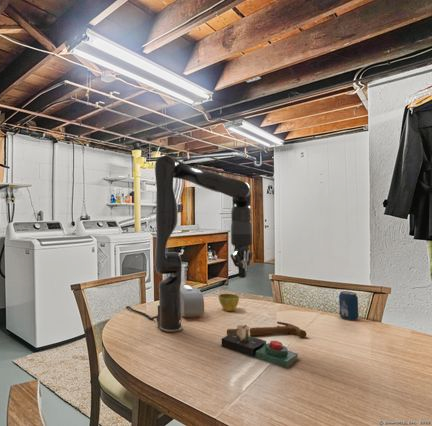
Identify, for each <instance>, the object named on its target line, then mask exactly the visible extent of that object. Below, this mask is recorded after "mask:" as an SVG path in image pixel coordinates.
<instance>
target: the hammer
mask: <svg viewBox="0 0 432 426" xmlns="http://www.w3.org/2000/svg"><path fill="white" fill-rule="evenodd" d="M276 323H277V326H263V327H262V326H261V327H259V326H258V327H249V328H250V336H251V337H256V336H257V337H258V336H259V337H260V336H267V335H276V334H277V335H278V334H282V335H283V334H288V335H297V336H299V337H300V338H304V339H305V338H306V337H307V331H306V330H304V329H301V328H300V327H299V326H297V325H294V324H292V323H287V322H282V321H276ZM234 332H237V328H227V329H226V336H228V335H230V334H232V333H234Z"/></svg>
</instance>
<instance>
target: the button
mask: <svg viewBox="0 0 432 426" xmlns="http://www.w3.org/2000/svg"><path fill="white" fill-rule="evenodd" d="M269 343H270V347H271V348H273V349H277V350H282V345H283V343H282V342H281V341H279V340H270V341H269Z"/></svg>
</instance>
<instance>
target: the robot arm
mask: <svg viewBox="0 0 432 426" xmlns="http://www.w3.org/2000/svg"><path fill="white" fill-rule="evenodd" d="M154 176H155V186H156V194H155V199H156V200H155V203H156V204H155V228H156V229H155V230H156V231H155V232H156V233H155V234H156V237H155V250H154V268H155V272H156V273H157V274H159V275H168V276H167V277H166V278H165V279H162V280H161V281H160V282H159V283H158V301H159V303H158V305H157V314H156V315H154V316H152V317H151V316H149V315H148V314H147V313H145V312H142V311H139V310H136V309H134V308H132V307H131V306H130V305H127V306H125V309H129V310H131V311H132V312H134V313H137V314H141V315H144V316H145V317H146V318H147V319H149V320H151V321H153V320H155V319H156V322H157V327H158V328H159V330H161V331H163V332H165V333H177V332H180V331H181V330H182V323H183V318H182V315H181V293H180V286H182V271H183V270H182V269H183V268H182V267H183V262H182V257H181V255H180V253H179V252H176V251H170V252H167V251H166V250H167V245H168V241H169V239H170V237H171V236H172V234H173V232H174V231H175V229H176V227H177V225H178V217H179V216H178V214H179V213H178V211H179V209H178V204H177V203H178V202H177V198H176V195H175V191H174V179H179V180H183V181H187V182H190V183H192V184H194V185H196V186H199V187H202V188H203V189H206V190H210V191H213V192H214V193H215V192H216V193H220V194H223V195H225V196H228V197H231V199H232V208H231V210H230V211H231V212H230V213H231V214H230V217H231V219H230V220H231V224H230V243H231V245H232V246H234V248H233V252H234V253H231V254H230V258H231V260H232V263H233V265H234V267H236V268H238V278H241V279H243V278H244V279H245V278H247V267H248V266H250V263H251V261H252V257H253V254H254V253H253V252H252V251H250V246H252V245H253V225H252V212H251V211H252V210H251V201H252V190H251V189H252V188H251V186H250V185H249V184H248V183H247V182H246V181H243V180H240V179H237V178H232V177H229V176H225V175H224V174H223V175H222V174H220V173H217V172H214V171H211V170H207V169H202V168H197V167H194V166H191V165H188V164H186V163H184V162H182V161H180V160H179V159H177V158H175V157H173V156H171V155H168V154H162V155H160V156H159V157H157V158H156V161H155V162H154Z"/></svg>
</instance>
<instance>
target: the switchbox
mask: <svg viewBox="0 0 432 426" xmlns="http://www.w3.org/2000/svg"><path fill="white" fill-rule="evenodd" d="M255 358H256V359H259V360H262V361H264V362H268V363H270V364H273V365H276V366H279V367H282V368H285V369H288V368H290V367H291V366H292V365H293V364H294V363H296V362H297V361H298V360H299V354H298V352H296V351H295V352H294V351H291V350H288V347H287V346H286V345H284V344H282V350H277V349H273V348H271V347H270V342H266V345H265V346H263V347H262V348H260V349H259V350H257V351H256V356H255Z"/></svg>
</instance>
